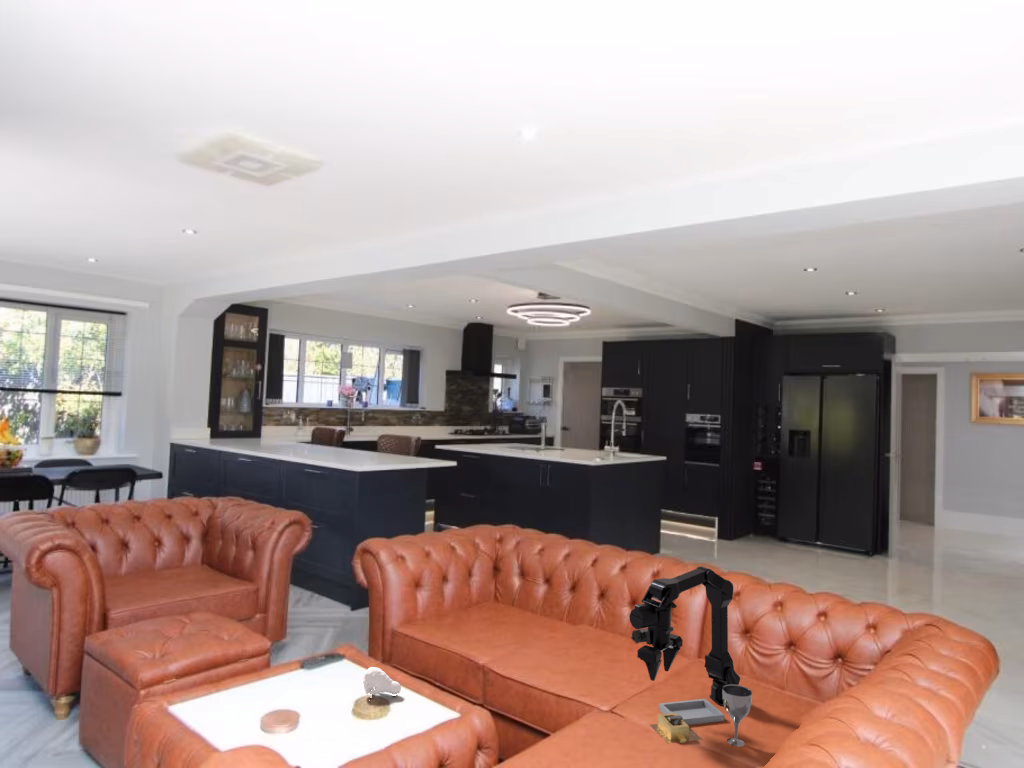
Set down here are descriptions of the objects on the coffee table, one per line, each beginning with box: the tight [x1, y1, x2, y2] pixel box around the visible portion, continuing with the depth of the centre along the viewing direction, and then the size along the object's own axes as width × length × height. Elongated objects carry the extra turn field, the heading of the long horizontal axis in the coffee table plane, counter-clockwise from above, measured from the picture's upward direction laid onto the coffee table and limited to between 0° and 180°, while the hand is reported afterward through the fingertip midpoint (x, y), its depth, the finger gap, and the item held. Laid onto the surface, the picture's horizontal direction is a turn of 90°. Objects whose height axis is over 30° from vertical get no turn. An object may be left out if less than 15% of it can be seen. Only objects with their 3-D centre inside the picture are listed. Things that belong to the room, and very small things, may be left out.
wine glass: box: [722, 684, 753, 748], centre depth 195 cm, size 8×8×15 cm
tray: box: [658, 698, 725, 726], centre depth 211 cm, size 16×11×2 cm
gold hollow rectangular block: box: [657, 713, 690, 744], centre depth 199 cm, size 10×6×3 cm, turn 14°
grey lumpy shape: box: [362, 666, 402, 695], centre depth 219 cm, size 6×8×12 cm
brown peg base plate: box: [649, 715, 703, 745], centre depth 200 cm, size 11×11×5 cm
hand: (659, 675), depth 207 cm, fingers open, 9 cm apart
